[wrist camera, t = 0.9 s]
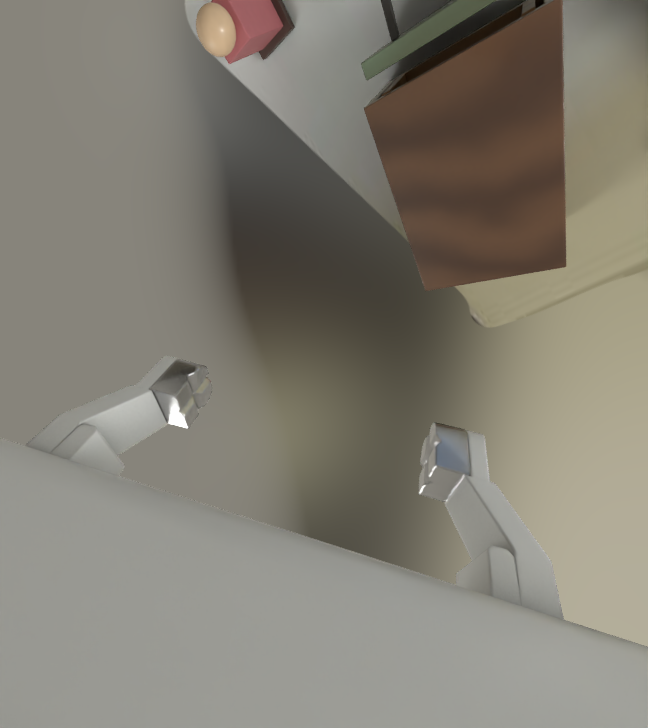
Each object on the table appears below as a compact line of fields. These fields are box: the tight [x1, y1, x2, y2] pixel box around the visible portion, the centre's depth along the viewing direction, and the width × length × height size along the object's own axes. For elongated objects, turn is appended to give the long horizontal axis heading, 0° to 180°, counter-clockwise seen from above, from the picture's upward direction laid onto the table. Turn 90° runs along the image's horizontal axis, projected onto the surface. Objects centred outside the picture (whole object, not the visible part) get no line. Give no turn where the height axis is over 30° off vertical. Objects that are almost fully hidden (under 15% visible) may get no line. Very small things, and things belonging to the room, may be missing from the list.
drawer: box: [361, 0, 536, 96], centre depth 29 cm, size 23×13×7 cm, turn 30°
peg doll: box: [196, 0, 294, 64], centre depth 29 cm, size 4×5×11 cm
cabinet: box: [364, 0, 566, 291], centre depth 32 cm, size 20×14×9 cm
